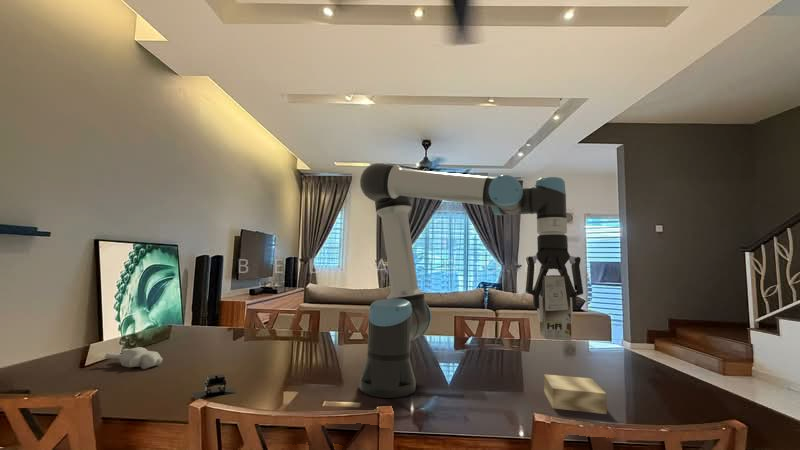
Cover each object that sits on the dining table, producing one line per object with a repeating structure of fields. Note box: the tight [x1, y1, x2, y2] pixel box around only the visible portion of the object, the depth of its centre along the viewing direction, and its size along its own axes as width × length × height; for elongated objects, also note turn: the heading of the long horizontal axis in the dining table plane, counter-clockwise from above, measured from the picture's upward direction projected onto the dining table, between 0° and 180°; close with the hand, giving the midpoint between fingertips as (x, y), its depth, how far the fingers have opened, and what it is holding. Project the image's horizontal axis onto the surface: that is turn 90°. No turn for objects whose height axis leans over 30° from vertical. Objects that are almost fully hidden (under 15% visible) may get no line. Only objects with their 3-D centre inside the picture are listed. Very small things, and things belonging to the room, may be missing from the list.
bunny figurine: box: [103, 346, 164, 370], centre depth 112 cm, size 10×5×15 cm
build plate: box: [192, 373, 238, 401], centre depth 92 cm, size 12×7×5 cm, turn 124°
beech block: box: [543, 373, 608, 415], centre depth 94 cm, size 12×12×5 cm
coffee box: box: [539, 274, 573, 342], centre depth 97 cm, size 9×6×16 cm
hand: (554, 321), depth 97 cm, fingers closed on coffee box, 7 cm apart
